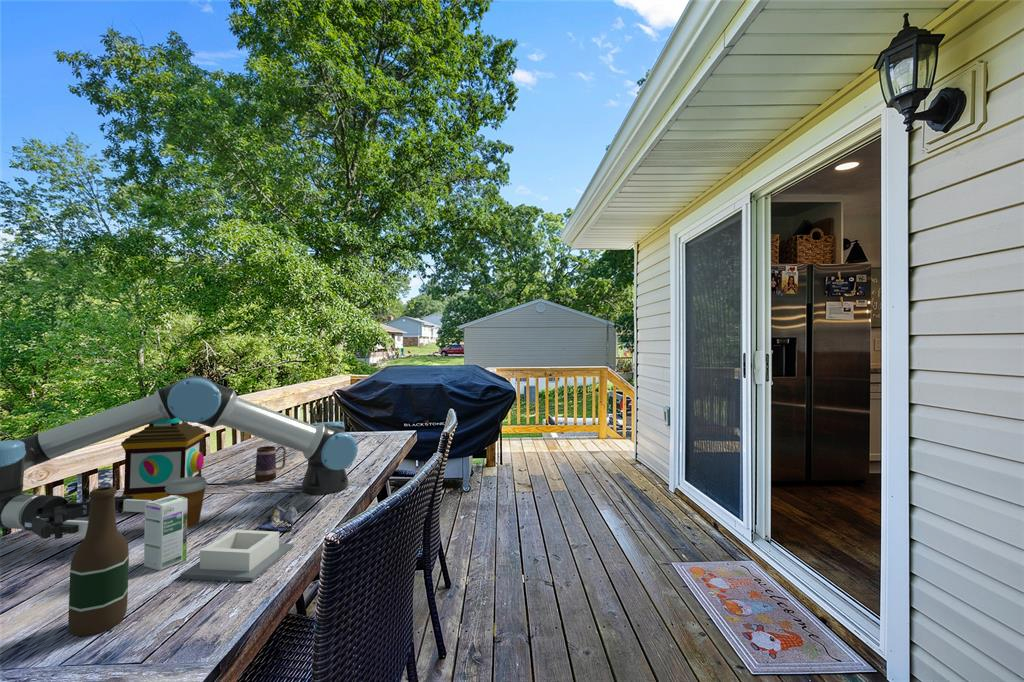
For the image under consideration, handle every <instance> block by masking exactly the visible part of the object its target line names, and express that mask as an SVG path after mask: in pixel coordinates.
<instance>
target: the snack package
mask: <svg viewBox="0 0 1024 682" xmlns="http://www.w3.org/2000/svg"><path fill="white" fill-rule="evenodd" d="M297 517H298V512H297V509H296V507H294V506H293V505H292V504H289V505H288V504H287V507H286V509H284V508H282V507H281V506H280V505H279V504H278V503H274V504H273V506H272V508H271V510H270V512H269V513H268V514H267V515H266V516H265V517H264V518H262V519H261V521H260V523H259V524H258V531H263V530H272V531H274V532H275V531H277V532H279V533H285V532H284V531H291V530H293V526H294V523H295V522H296V521H297ZM279 521H282V523H287V524H291V528H289V527H290V526H289V527H288V529H286V528H287V527H283V528H278V527H276V528H275V525H276V523H277V522H279ZM291 532H292V531H291Z"/></svg>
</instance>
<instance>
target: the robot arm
mask: <svg viewBox="0 0 1024 682" xmlns="http://www.w3.org/2000/svg"><path fill="white" fill-rule="evenodd" d="M164 418H166V419H169V420H171V419H174V418H178V419H180V420H182V421H184V422H188V423H190V424H191V423H194V424H195V423H196V424H199V425H203V426H206V427H209V428H212V429H214V428H217V427H219V426H224V427H226V428H230V429H233V430H236V431H239V432H241V433H245V434H248V435H251V436H254V437H257V438H260V439H263V440H265V441H268V442H272V443H275V444H278V445H279V446H281V445H283V446H285V448H290V449H293V450H295V451H298V452H301V453H302V455H303V457H304V459H306V460H307V468H306V471H305V473H304V476H303V480H302V482H301V491H302V493H305V494H310V495H327V493H328V494H333V493H332V492H334V493H338V492H340V490H341V491H343V489H344V490H346V489H347V488H348V487H347V486H349V478H348V475H347V474H348V473H347V471H346V468H347V467H349V466H350V465H351V464H353V463H354V461H355V459H356V458H357V456H358V452H359V446H358V442H357V440H356V439H355V437H354V436H353V435H352V434H350V433H348V432H347V431H345V429H346V426H345V423H344V422H343V421H326V422H325V421H323V422H314V423H308V422H306V421H303V420H300V419H297V418H294V417H292V416H290V415H286V414H283V413H281V412H278V411H276V410H273V409H270V408H267V407H265V406H262V405H259V404H256V403H254V402H251V401H249V400H247V399H243V398H240V397H238V396H237V393H236V391H235V389H232V388H230V387H227V386H224V385H221V384H219V383H216V382H215V381H213V380H211V379H210V378H208V377H206V376H201V375H189V376H186V377H184V378H182V379H180V380H178V381H176V382H173V383H172V384H169V385H167V386H166V385H165V386H164V387H162V388H161V387H160V388H157V389H156V390H155V392H154V393H153V394H152V395H148V396H145V397H142V398H139V399H137V400H134V401H130V402H128V403H124V404H122V405H118V406H116V407H113V408H110V409H106V410H104V411H100V412H98V413H95V414H92V415H89V416H86V417H83V418H80V419H77V420H75V421H72V422H68V423H66V424H63V425H60V426H57V427H54V428H50V429H48V430H44V431H42V432H39V433H36V434H32V435H30V436H26V437H23V438H22V437H21V438H18V439H10V440H0V529H11V530H12V529H14V530H21V531H22V532H25V531H28V532H32V533H34V534H35V535H37V536H38V537H39V538H41V539H42V540H45V539H46V540H47V539H49V538H51V537H52V535H54V540H57V539H61V538H63V534H64V535H75V536H77V535H78V536H79V535H80V536H81V535H82V536H85V535H86V532H87V527H88V520H77V519H83V518H89V510H90V501H91V498H89V497H88V498H84V499H83V500H82V501H79V502H76V501H72V502H69V501H68V500H67V498H66V497H63V496H62V495H61V496H60V495H49V494H47V495H46V494H33V493H32V494H31V493H30V494H29V493H28V494H27V493H25V494H24V493H23V492H24V491H23V490H24V479H25V477H24V476H25V471H27V470H28V469H30V468H32V467H35V466H37V465H39V464H43V463H45V462H48V461H51V460H53V459H56V458H59V457H61V456H64V455H66V454H70V453H73V452H75V451H78V450H81V449H84V448H86V447H89V446H92V445H94V444H98V443H99V442H103V441H105V440H109V439H110V438H114V437H116V436H120V435H122V434H125V433H128V432H130V431H133V430H136V429H140V428H142V427H144V426H145V427H146V426H148V425H149V424H150V423H153V422H156V421H159V420H161V419H164ZM346 487H347V488H346ZM337 491H338V492H337ZM151 501H152V500H136V499H133V496H131V495H130V496H129V495H126V496H122V495H121V496H120V495H119V496H115V512H118V511H117V510H123V511H124V512H129V513H130V512H132V513H133V512H134V513H145V503H147V502H151ZM84 511H86V513H84Z"/></svg>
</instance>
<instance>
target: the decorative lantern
mask: <svg viewBox="0 0 1024 682" xmlns="http://www.w3.org/2000/svg"><path fill="white" fill-rule="evenodd" d="M206 433H207V430H206V429H204V428H203V427H201V426H200V425H192V424H191V423H190V424H189V422H184V421H182V420H180V419H178V418H174V419H171V420H169V419H166V418H164V419H161V420H159V421H156V422H153V423H150V424H148V425H147V426H145V427H144V429H141V430H140V431H138V432H135V433H133V434H131V435H130V436H128V437H127V438H124V440H123V441H121V443H120V445H121V447H122V449H123V450H124V454H125V455H124V456H125V457H124V478H123V480H124V483H123V493H122V495H121V496H126V495H129V496H130V495H131V496H133V499H136V500H152V501H155V500H158V499H161V498H165V497H167V493H166V490H165V487H166V486H167V483H168V482H170V481H172V480H175V479H180V478H186V477H203V475H202V468H203V467H204V461H205V459H204V458H205V457H204V455H203V439H204V437H205V435H206ZM116 512H117V513H118V514H119V513H122V512H123V513H125V511H123V510H117V511H116ZM123 513H122V514H123Z"/></svg>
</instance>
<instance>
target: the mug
mask: <svg viewBox="0 0 1024 682" xmlns="http://www.w3.org/2000/svg"><path fill="white" fill-rule="evenodd" d="M280 449H282V450H283V455H282V465H281V466H280V467H277V465H276V464H277V461H276V459H277V457H276V455H277V454H276V453H277V452H279V450H280ZM255 453H256V458H255V459H256V460H255V469H254V481H255V482H261V483H265V481H266V482H271V481H274V480H275V479H276V478H277V471H279V470H282V469H283V468H285V465H286V454H287V447H286V446H283V445H279V446H278V447H277V448H276V446H273V445H267V446H260V447H257V449H256V452H255Z"/></svg>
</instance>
